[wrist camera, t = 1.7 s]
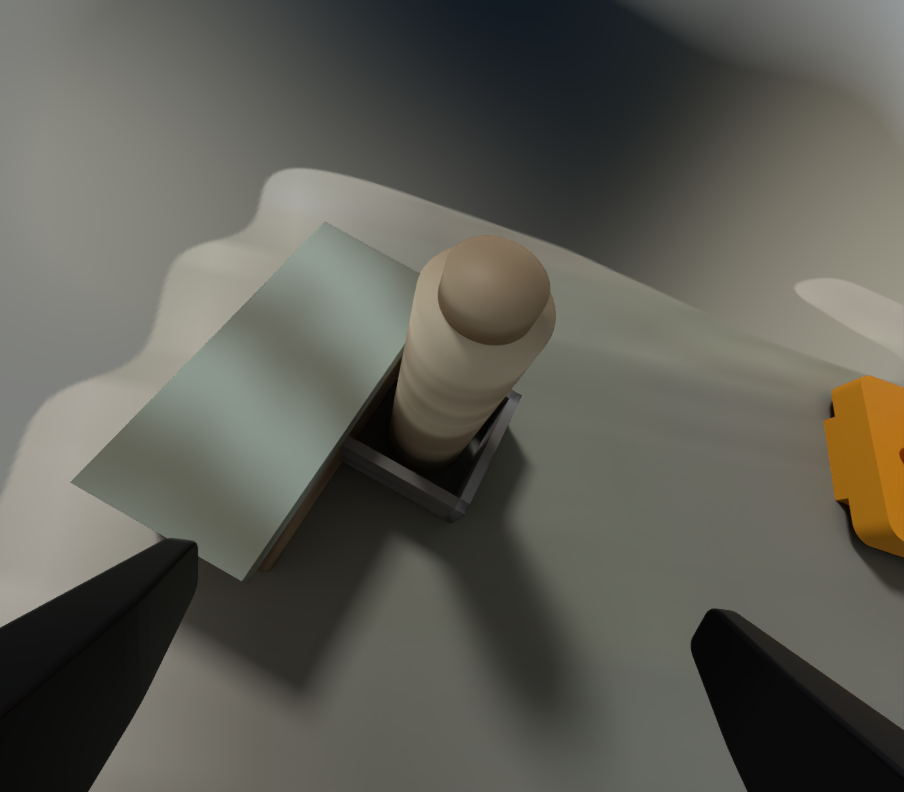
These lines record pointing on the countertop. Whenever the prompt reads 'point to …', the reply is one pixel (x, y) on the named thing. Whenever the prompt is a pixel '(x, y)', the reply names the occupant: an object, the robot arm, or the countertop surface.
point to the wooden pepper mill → (466, 346)
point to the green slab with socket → (278, 412)
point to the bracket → (870, 459)
